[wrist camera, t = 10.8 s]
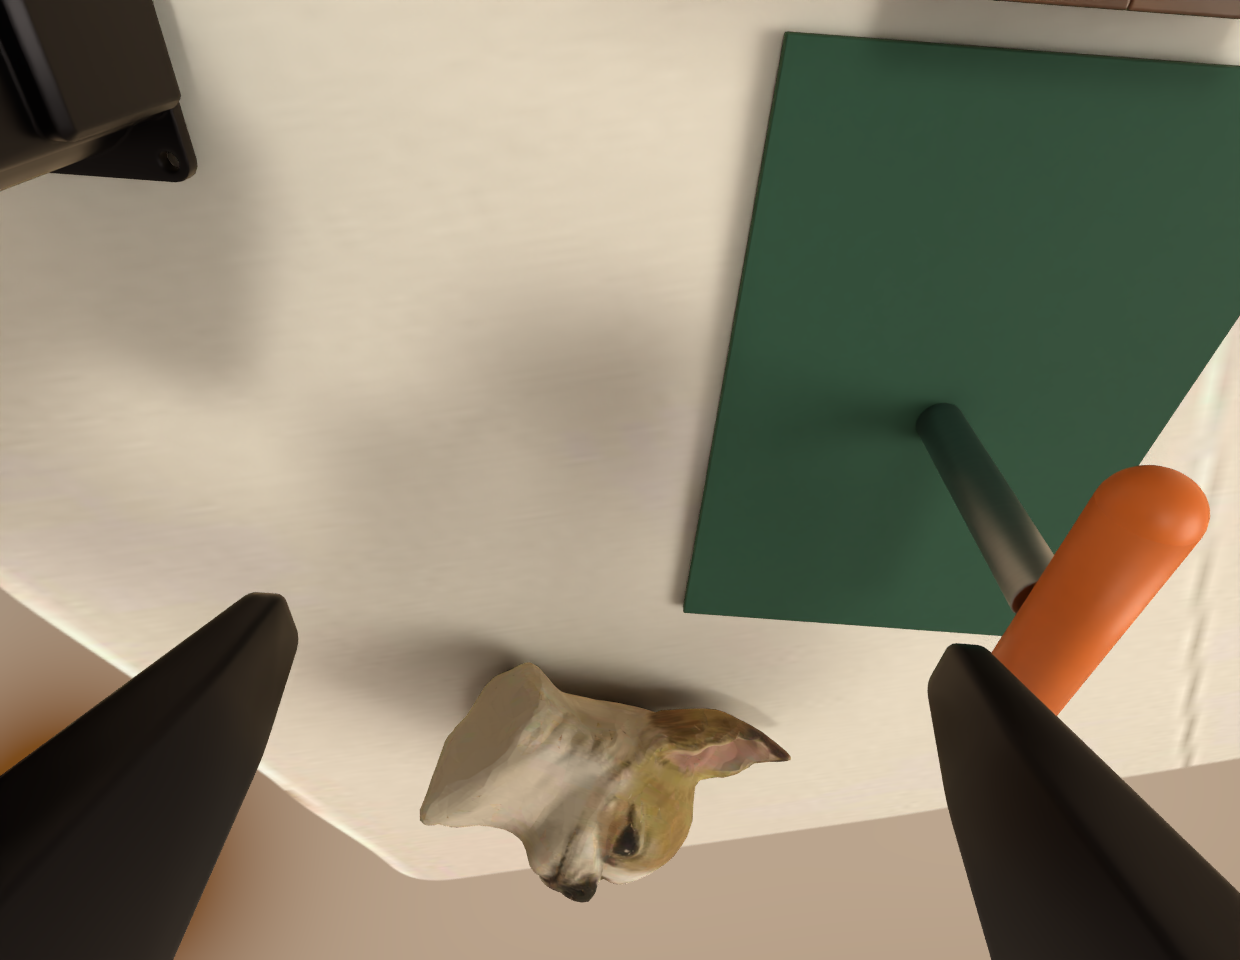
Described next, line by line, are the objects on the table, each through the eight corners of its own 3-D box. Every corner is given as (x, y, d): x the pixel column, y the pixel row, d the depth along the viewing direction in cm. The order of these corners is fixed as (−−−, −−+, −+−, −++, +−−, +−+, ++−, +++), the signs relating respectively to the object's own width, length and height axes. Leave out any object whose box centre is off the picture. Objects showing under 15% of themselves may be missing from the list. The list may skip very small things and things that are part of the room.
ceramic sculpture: (464, 808, 21) (830, 893, 26) (500, 593, 28) (787, 693, 33) (365, 911, 27) (678, 964, 32) (414, 713, 34) (667, 783, 39)
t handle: (870, 521, 24) (961, 769, 17) (961, 287, 19) (1153, 504, 12) (920, 525, 24) (1032, 774, 17) (1026, 291, 19) (1257, 511, 12)
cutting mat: (683, 605, 28) (683, 613, 28) (784, 31, 16) (786, 33, 15) (1018, 630, 28) (1022, 638, 28) (1385, 76, 16) (1400, 79, 15)
